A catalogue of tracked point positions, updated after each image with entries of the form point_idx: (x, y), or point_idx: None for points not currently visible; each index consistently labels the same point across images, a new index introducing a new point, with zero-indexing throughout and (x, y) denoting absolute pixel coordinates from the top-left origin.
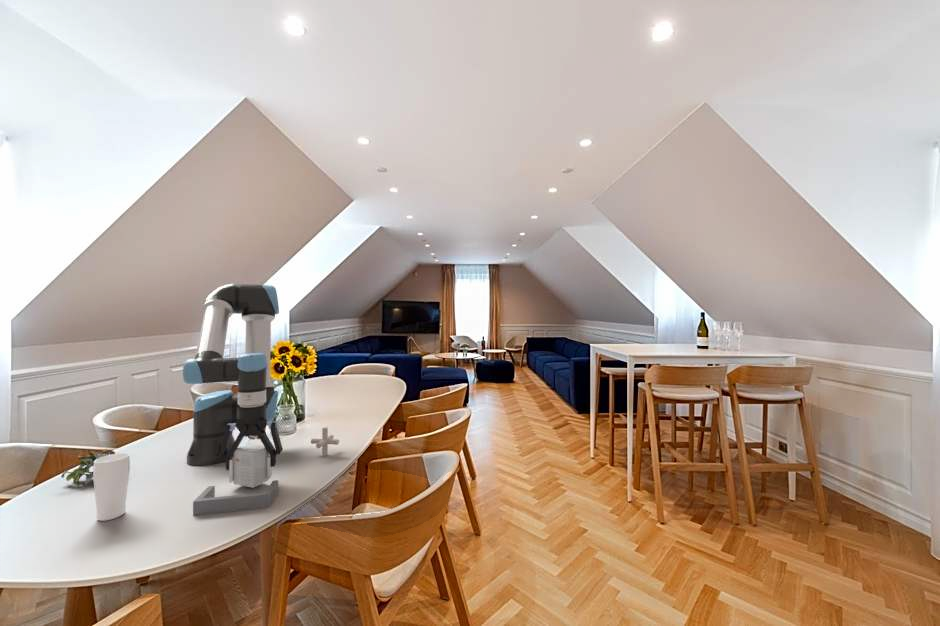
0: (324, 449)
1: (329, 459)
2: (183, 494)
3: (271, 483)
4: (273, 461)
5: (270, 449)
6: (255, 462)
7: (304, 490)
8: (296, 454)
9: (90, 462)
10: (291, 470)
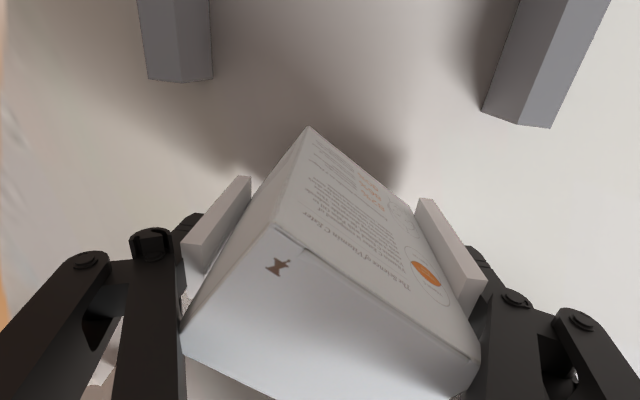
0: (106, 387)
1: None
2: (606, 203)
3: (173, 32)
4: (181, 231)
5: (136, 293)
6: (276, 186)
7: (56, 50)
8: (229, 397)
9: None
10: None
